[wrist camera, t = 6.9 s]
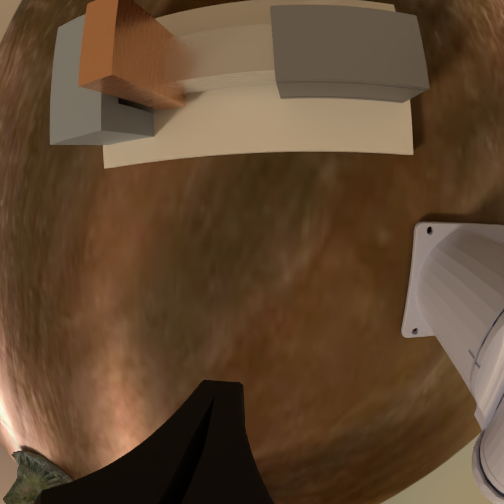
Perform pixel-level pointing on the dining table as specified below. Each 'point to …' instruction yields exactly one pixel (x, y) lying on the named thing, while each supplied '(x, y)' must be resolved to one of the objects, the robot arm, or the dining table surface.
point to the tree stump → (34, 477)
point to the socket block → (87, 101)
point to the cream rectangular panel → (297, 85)
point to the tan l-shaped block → (167, 57)
